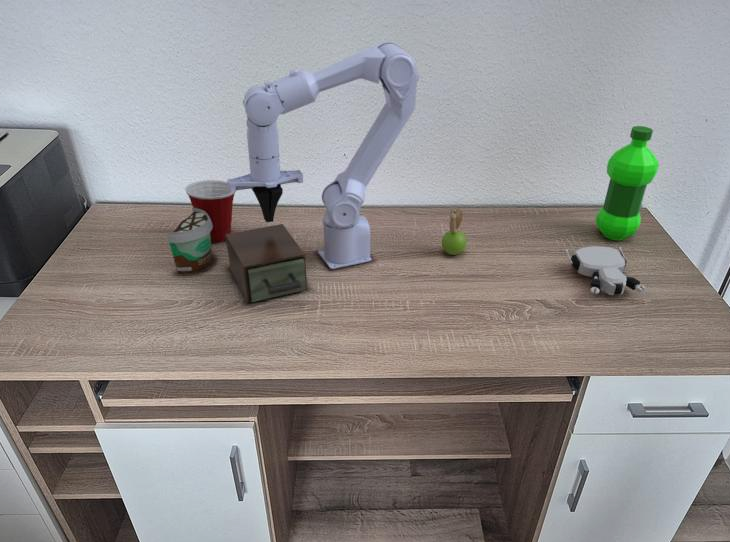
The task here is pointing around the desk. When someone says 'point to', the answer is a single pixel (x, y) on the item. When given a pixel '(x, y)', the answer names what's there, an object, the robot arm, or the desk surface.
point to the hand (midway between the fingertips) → (268, 219)
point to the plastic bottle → (627, 186)
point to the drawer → (276, 279)
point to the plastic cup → (213, 205)
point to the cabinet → (260, 251)
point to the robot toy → (604, 269)
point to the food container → (192, 243)
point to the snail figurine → (454, 235)
